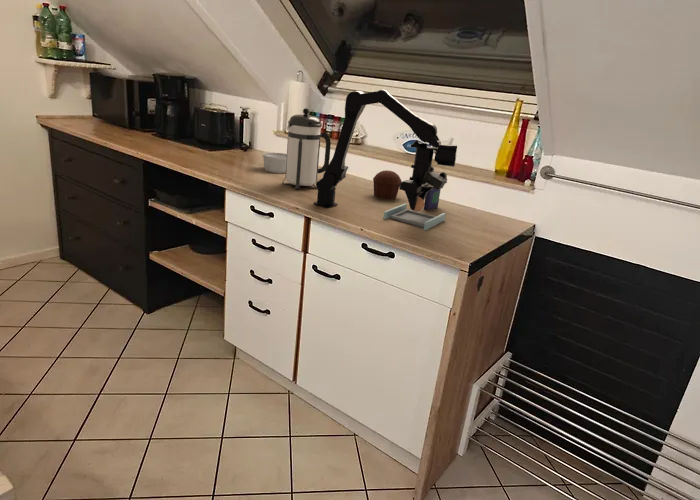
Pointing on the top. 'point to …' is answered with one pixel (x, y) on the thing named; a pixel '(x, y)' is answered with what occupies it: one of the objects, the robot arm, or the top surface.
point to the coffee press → (305, 150)
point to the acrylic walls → (427, 224)
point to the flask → (432, 199)
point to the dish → (412, 217)
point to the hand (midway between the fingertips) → (415, 208)
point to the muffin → (386, 184)
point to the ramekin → (275, 162)
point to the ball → (419, 204)
